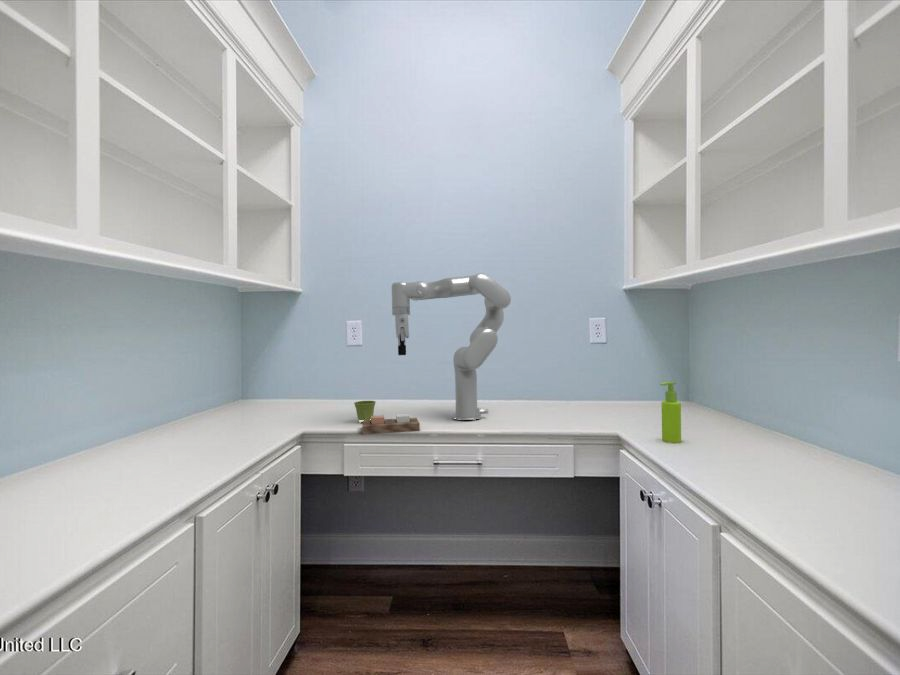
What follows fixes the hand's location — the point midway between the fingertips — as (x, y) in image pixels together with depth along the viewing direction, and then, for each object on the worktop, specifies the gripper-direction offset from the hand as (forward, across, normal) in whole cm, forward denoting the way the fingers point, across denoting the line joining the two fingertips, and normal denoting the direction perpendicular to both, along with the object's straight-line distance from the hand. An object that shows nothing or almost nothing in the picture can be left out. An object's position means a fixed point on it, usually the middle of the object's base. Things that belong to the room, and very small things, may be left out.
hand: (402, 355), depth 194 cm
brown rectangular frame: (+29, -10, +6) cm, 31 cm away
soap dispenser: (+29, -55, -86) cm, 106 cm away
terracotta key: (+28, -10, +11) cm, 31 cm away
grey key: (+28, -10, +1) cm, 29 cm away
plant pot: (+29, +8, +16) cm, 34 cm away
